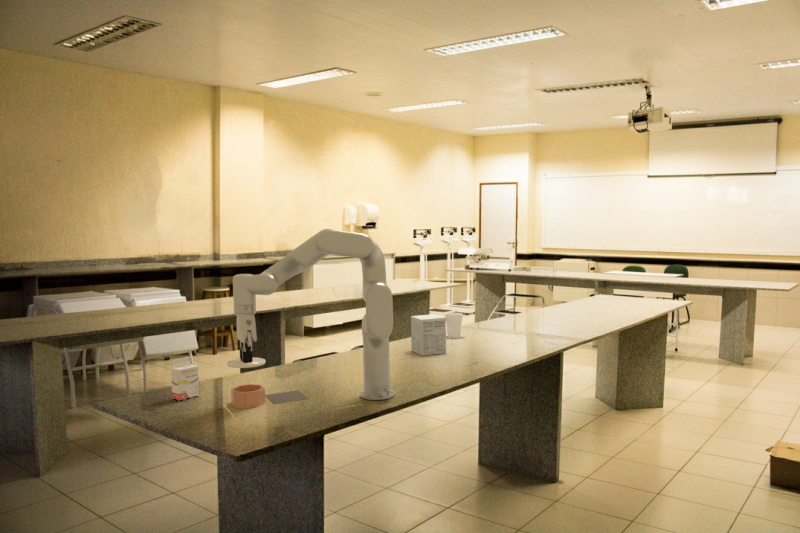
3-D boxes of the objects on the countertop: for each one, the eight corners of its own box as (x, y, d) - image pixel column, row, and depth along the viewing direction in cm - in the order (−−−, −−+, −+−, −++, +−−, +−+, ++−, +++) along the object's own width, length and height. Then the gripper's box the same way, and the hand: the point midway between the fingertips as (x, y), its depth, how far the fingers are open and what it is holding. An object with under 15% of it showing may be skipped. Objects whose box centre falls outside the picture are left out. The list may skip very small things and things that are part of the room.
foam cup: (443, 338, 336) (443, 314, 335) (447, 335, 345) (447, 312, 344) (461, 339, 333) (460, 315, 332) (464, 336, 342) (464, 312, 341)
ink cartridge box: (179, 402, 225) (177, 361, 223) (171, 399, 228) (169, 360, 227) (200, 396, 231) (198, 357, 230) (192, 394, 234) (190, 355, 233)
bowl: (267, 406, 217) (267, 389, 216) (236, 411, 212) (235, 394, 211) (259, 399, 226) (259, 382, 226) (229, 403, 221) (229, 386, 221)
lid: (269, 365, 215) (269, 350, 215) (231, 369, 209) (231, 354, 209) (260, 358, 227) (259, 344, 226) (223, 362, 221) (223, 347, 220)
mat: (309, 400, 223) (309, 398, 223) (273, 405, 218) (273, 404, 217) (297, 391, 235) (297, 390, 235) (263, 396, 229) (263, 395, 229)
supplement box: (446, 353, 298) (446, 317, 297) (421, 356, 293) (421, 319, 292) (435, 348, 310) (434, 313, 309) (410, 351, 306) (410, 315, 304)
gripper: (261, 311, 211) (263, 364, 212) (249, 306, 226) (251, 356, 227) (239, 313, 208) (241, 367, 209) (229, 307, 222) (230, 358, 223)
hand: (246, 361), depth 218 cm, fingers closed on lid, 2 cm apart
